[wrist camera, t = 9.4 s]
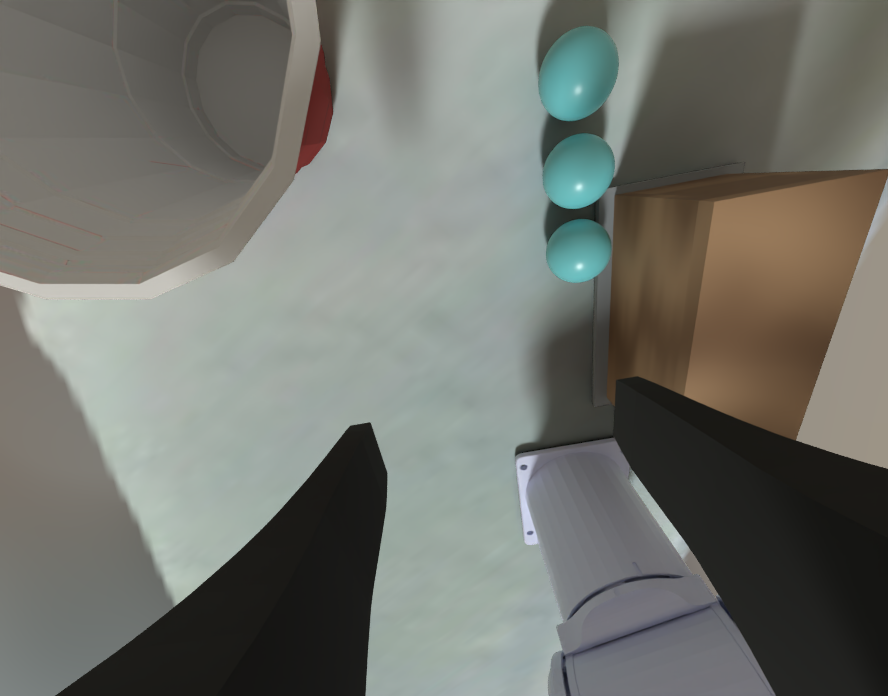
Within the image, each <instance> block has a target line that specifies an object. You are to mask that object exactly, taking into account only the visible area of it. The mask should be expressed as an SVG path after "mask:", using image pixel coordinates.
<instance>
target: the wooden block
mask: <svg viewBox="0 0 888 696" xmlns="http://www.w3.org/2000/svg"><path fill="white" fill-rule="evenodd" d="M887 177H888V169H873V170H839V171H805V172H771V173H738V174H724V175H719V176H714V177H708V178H703V179H698V180H692V181H687V182H682V183H677V184H671V185H666V186H661V187H655V188H650V189H645V190H639V191H634V192H629V193H624V194H618V195H615V197H614V222H613V248H612V273H611V299H610V324H609V349H608V375H607V398H608V399H609V400H610V402H611V403H612V404H613V405H614V406H615V391H616V380H618V379H624V378H630V377H635V376H638V377H641V378H644V379H646V380H649V381H651V382H654V383H656V384H658V385H661V386H663V387H665V388H668V389H670V390H672V391H674V392H677V393H679V394H681V395H683V396H686V397H688V398H690V399H692V400H695V401H697V402H699V403H702V404H704V405H706V406H709V407H711V408H713V409H715V410H718V411H720V412H723V413H725V414H727V415H730V416H732V417H735V418H737V419H740V420H742V421H745V422H747V423H750V424H752V425H755V426H758V427H760V428H763V429H765V430H768V431H771V432H773V433H776V434H779V435H781V436H784V437H787V438H790V439H793V440H795V441H796V438H797V435H798V432H799V429H800V426H801V424H802V421H803V418H804V415H805V412H806V409H807V406H808V404H809V401H810V398H811V395H812V392H813V389H814V386H815V384H816V380H817V378H818V375H819V372H820V369H821V366H822V363H823V361H824V358H825V355H826V352H827V349H828V346H829V343H830V341H831V338H832V335H833V332H834V329H835V326H836V323H837V321H838V318H839V314H840V312H841V309H842V306H843V303H844V301H845V298H846V294H847V292H848V289H849V286H850V283H851V280H852V278H853V275H854V272H855V269H856V266H857V263H858V260H859V258H860V255H861V252H862V249H863V246H864V243H865V240H866V238H867V235H868V232H869V229H870V226H871V223H872V220H873V218H874V215H875V212H876V209H877V206H878V203H879V200H880V197H881V195H882V192H883V189H884V186H885V183H886V180H887Z"/></svg>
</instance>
